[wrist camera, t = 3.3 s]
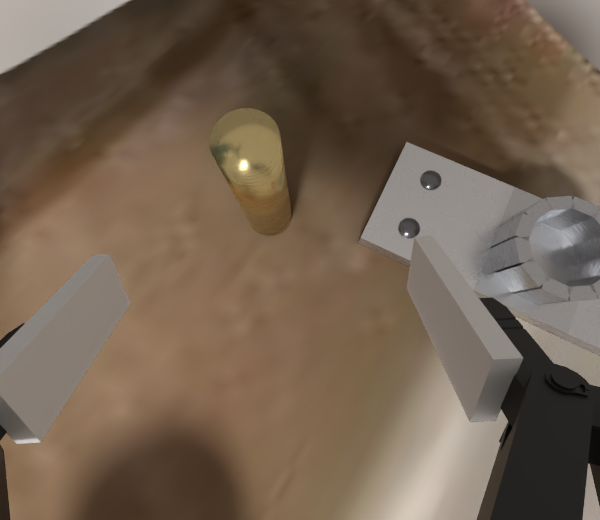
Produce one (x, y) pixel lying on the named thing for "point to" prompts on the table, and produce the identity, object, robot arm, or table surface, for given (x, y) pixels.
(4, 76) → the table surface
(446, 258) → the robot arm
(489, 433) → the table surface
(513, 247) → the hinge leaves
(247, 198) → the hinge pin
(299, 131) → the table surface
